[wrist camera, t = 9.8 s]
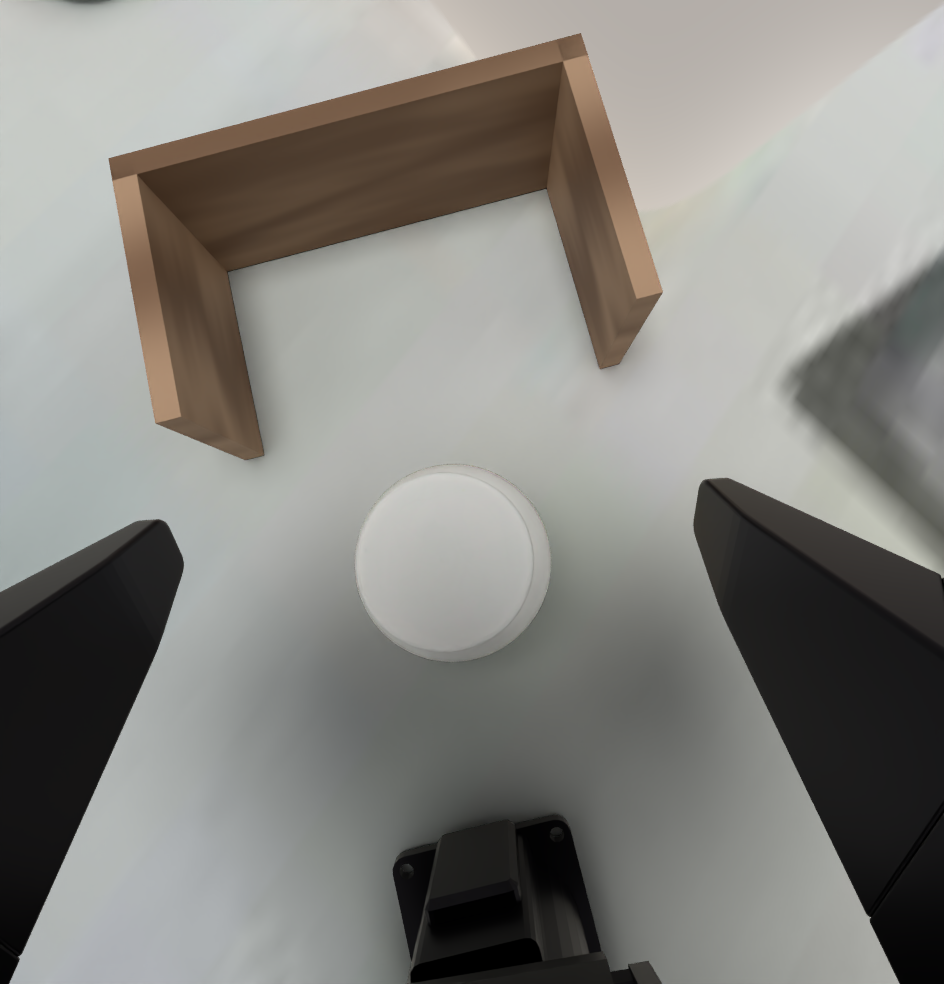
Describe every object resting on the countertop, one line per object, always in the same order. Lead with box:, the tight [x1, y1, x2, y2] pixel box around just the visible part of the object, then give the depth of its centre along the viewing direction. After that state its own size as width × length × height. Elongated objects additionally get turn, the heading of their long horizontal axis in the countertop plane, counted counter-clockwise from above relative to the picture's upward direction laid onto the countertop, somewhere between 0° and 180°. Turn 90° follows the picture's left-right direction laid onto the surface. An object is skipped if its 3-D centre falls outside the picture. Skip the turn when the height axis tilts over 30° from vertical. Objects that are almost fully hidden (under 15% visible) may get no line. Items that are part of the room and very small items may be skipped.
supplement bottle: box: [355, 464, 551, 662], centre depth 17 cm, size 5×5×10 cm
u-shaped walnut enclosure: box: [109, 33, 663, 460], centre depth 20 cm, size 9×16×6 cm, turn 104°
